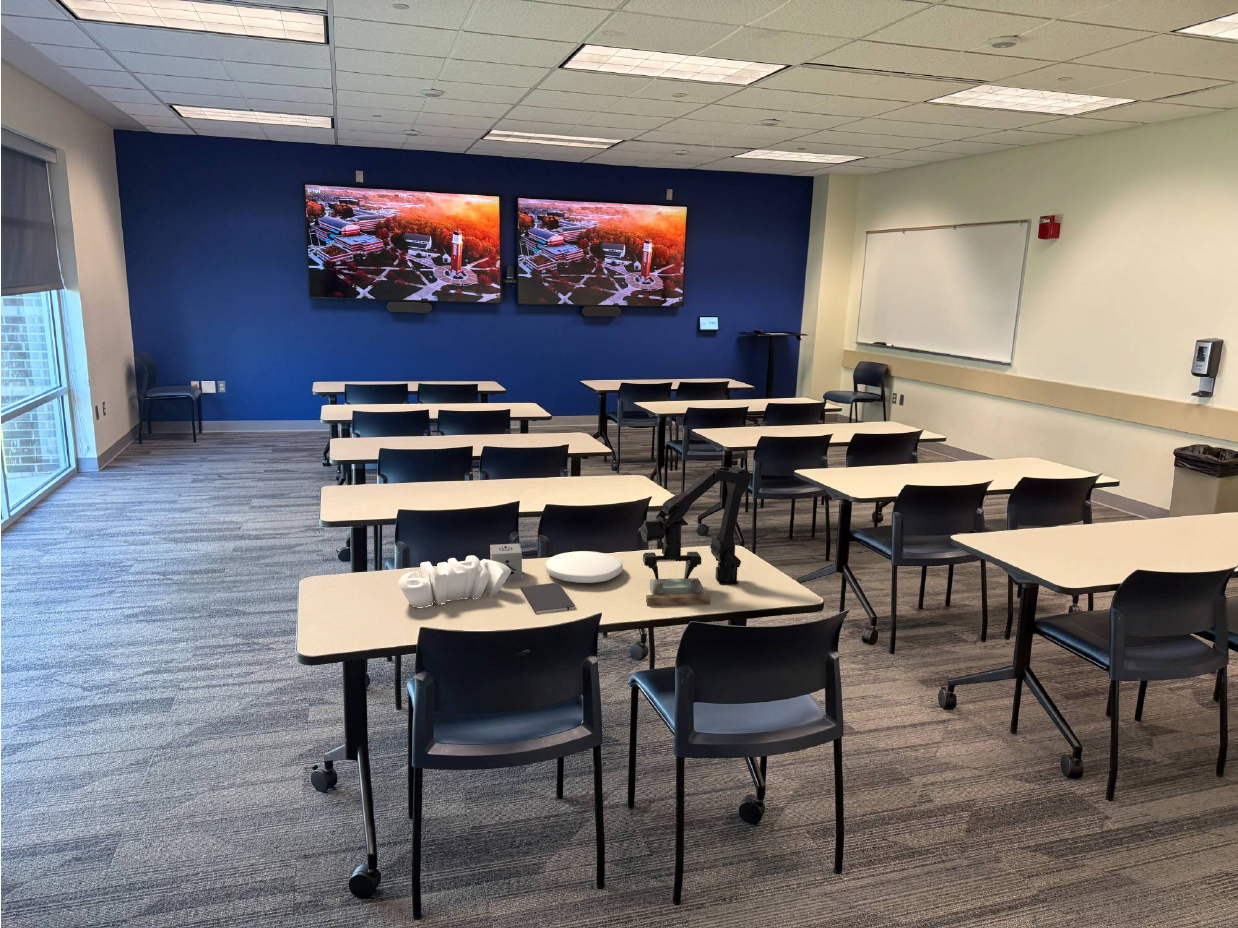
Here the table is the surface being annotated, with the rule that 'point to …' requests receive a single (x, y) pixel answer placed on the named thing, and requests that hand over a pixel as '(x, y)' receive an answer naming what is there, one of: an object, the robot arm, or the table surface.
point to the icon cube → (508, 559)
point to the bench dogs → (677, 596)
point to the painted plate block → (675, 586)
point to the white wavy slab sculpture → (453, 581)
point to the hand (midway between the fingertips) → (671, 583)
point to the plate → (583, 566)
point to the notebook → (547, 598)
